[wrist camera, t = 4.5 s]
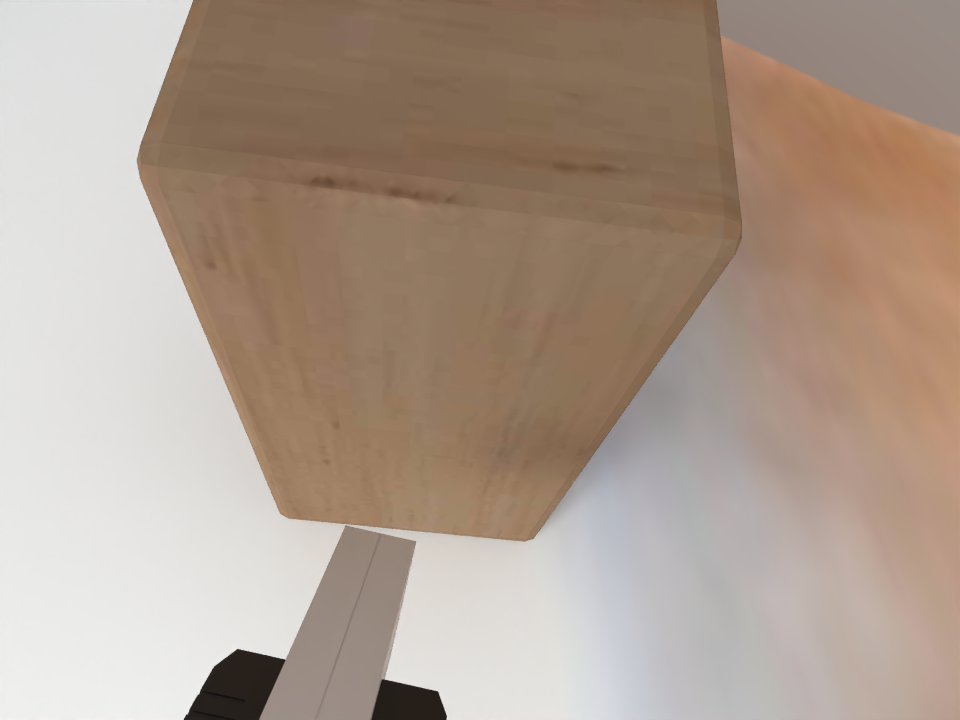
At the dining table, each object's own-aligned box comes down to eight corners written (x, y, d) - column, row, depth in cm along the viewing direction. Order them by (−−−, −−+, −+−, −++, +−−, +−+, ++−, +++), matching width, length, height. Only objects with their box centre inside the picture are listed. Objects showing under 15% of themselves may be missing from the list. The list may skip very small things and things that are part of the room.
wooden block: (320, 299, 34) (254, -197, 16) (542, 325, 35) (711, -123, 17) (277, 520, 29) (117, 162, 12) (534, 545, 30) (757, 245, 12)
